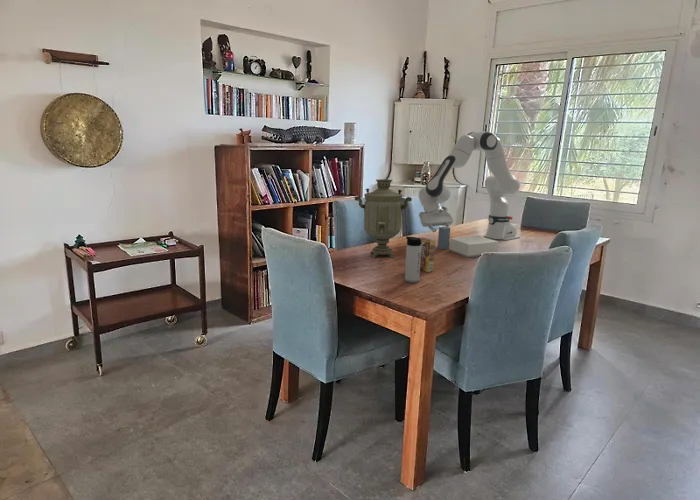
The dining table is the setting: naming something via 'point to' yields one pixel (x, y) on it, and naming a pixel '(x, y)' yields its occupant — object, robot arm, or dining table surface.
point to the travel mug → (413, 259)
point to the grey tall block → (443, 237)
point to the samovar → (382, 215)
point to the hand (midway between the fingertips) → (441, 231)
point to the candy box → (427, 254)
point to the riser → (472, 245)
